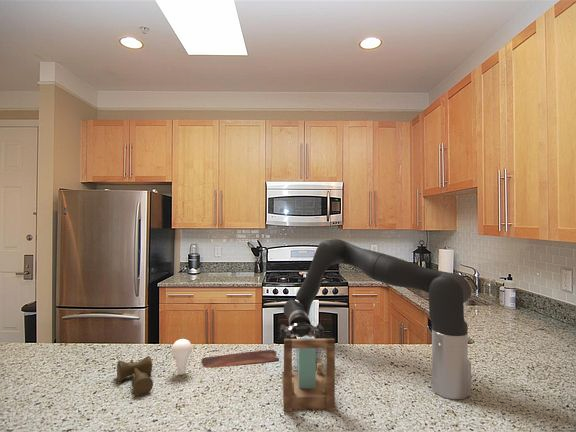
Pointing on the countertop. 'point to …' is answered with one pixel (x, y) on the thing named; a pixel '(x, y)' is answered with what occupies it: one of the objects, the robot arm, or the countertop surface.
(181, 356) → the lightbulb
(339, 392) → the countertop surface
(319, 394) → the peg shelf
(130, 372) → the kendama
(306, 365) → the teal block
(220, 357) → the wooden tablet
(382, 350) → the countertop surface
